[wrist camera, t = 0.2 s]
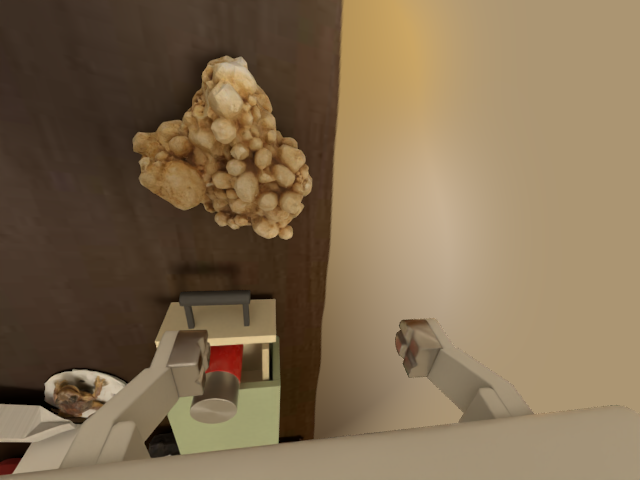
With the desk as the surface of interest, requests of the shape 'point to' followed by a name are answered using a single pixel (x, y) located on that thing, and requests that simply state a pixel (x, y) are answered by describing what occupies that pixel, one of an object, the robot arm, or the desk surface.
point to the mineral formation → (228, 155)
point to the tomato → (9, 466)
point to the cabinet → (245, 427)
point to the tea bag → (30, 423)
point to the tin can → (220, 386)
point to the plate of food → (81, 392)
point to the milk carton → (47, 452)
